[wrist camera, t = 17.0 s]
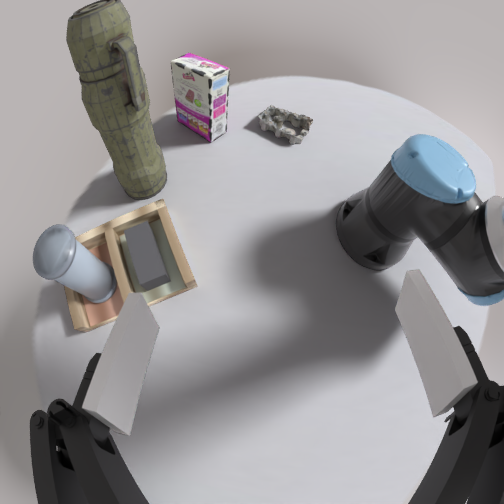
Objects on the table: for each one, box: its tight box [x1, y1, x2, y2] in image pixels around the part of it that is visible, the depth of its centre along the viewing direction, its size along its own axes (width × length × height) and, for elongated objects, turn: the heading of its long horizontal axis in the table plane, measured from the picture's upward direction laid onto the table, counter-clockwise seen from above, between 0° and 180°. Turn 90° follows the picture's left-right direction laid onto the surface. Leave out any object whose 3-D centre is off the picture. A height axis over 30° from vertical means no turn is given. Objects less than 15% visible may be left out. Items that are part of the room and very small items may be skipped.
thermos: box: [67, 0, 167, 200], centre depth 31 cm, size 9×12×35 cm
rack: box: [64, 199, 197, 332], centre depth 39 cm, size 20×14×4 cm
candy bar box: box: [171, 53, 230, 142], centre depth 45 cm, size 11×5×16 cm, turn 49°
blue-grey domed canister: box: [33, 224, 117, 303], centre depth 32 cm, size 7×7×14 cm
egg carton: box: [259, 105, 313, 145], centre depth 53 cm, size 11×8×4 cm
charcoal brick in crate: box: [124, 221, 171, 291], centre depth 39 cm, size 4×9×4 cm, turn 26°
